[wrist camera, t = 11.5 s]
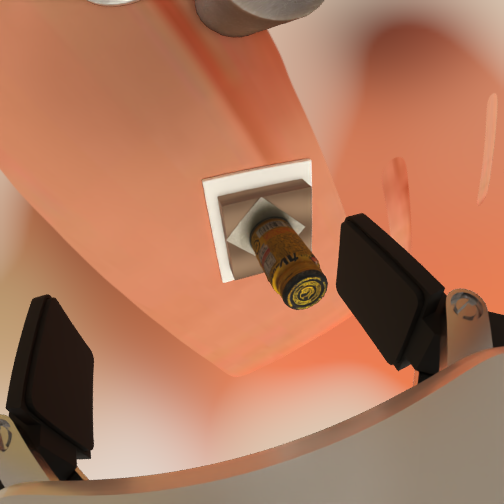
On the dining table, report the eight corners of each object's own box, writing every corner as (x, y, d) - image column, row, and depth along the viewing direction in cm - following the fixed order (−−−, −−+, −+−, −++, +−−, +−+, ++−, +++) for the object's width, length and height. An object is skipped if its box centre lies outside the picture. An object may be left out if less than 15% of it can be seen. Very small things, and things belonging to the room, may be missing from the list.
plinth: (217, 196, 40) (222, 206, 37) (302, 178, 42) (311, 186, 40) (230, 268, 47) (234, 280, 45) (303, 248, 49) (311, 259, 47)
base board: (201, 179, 39) (202, 181, 38) (308, 158, 41) (311, 160, 41) (221, 279, 49) (223, 283, 48) (309, 255, 51) (311, 258, 51)
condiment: (271, 264, 45) (305, 322, 35) (225, 239, 40) (252, 301, 31) (304, 225, 43) (348, 278, 33) (260, 195, 38) (300, 247, 29)
